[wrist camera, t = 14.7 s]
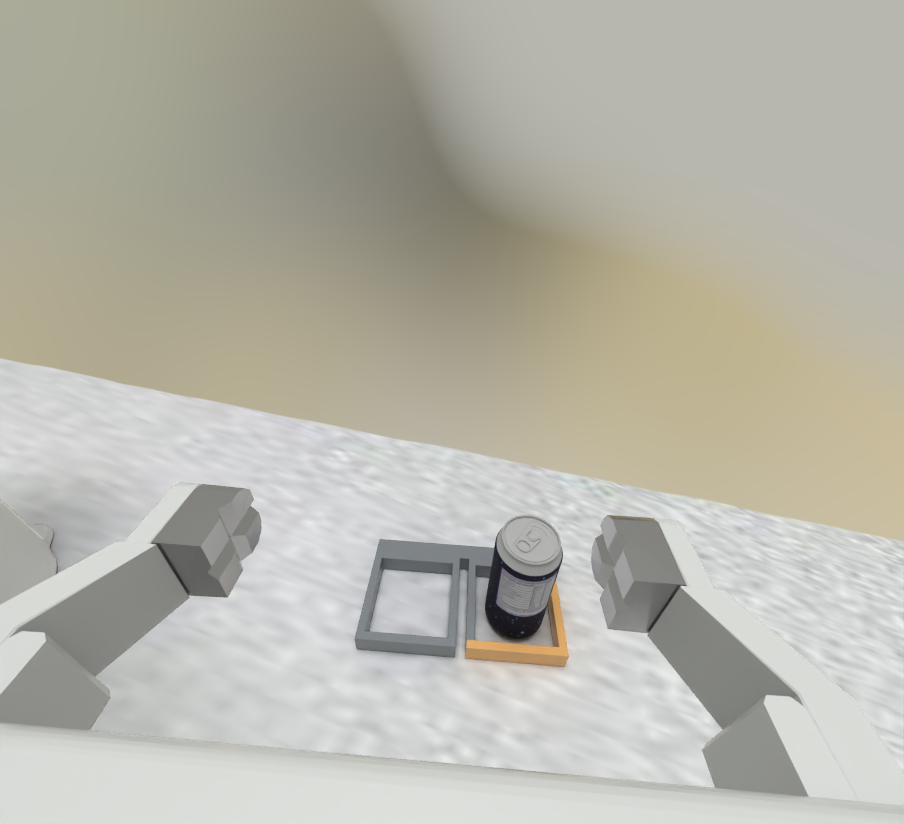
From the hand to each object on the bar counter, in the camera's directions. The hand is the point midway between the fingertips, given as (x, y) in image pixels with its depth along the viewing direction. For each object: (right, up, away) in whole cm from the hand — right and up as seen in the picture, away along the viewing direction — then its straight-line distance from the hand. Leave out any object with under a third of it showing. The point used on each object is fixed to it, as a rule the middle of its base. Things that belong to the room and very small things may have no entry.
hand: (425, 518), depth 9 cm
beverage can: (+7, -18, +30) cm, 36 cm away
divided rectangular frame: (+2, -17, +30) cm, 35 cm away
